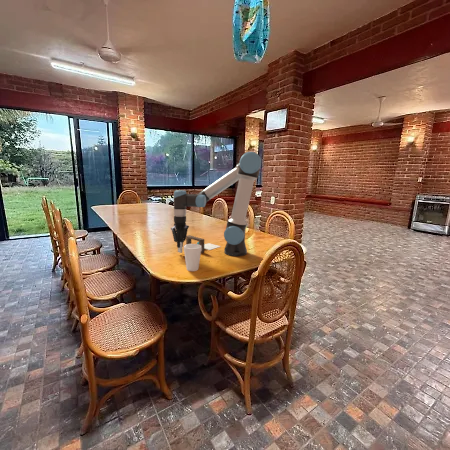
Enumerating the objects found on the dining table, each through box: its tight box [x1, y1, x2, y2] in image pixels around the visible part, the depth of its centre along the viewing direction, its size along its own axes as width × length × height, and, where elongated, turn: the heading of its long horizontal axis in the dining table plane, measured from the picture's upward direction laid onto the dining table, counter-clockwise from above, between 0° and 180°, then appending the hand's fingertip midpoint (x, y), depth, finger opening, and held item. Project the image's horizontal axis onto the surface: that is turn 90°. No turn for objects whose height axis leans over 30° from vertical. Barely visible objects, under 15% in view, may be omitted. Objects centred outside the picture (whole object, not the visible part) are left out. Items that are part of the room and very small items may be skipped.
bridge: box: [185, 234, 205, 254], centre depth 165 cm, size 3×14×9 cm, turn 50°
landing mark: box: [204, 242, 222, 251], centre depth 176 cm, size 12×12×1 cm
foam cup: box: [183, 243, 202, 272], centre depth 132 cm, size 10×9×13 cm
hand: (180, 252), depth 155 cm, fingers closed
